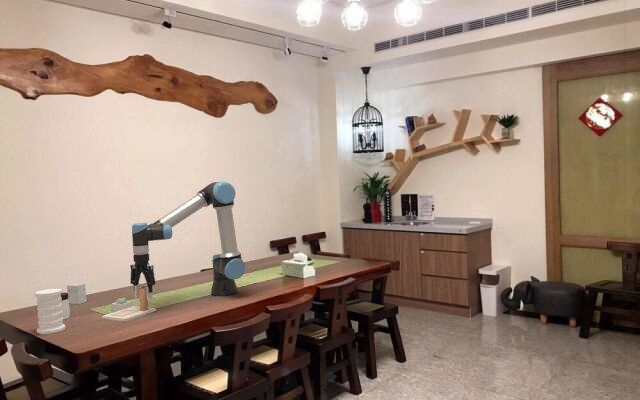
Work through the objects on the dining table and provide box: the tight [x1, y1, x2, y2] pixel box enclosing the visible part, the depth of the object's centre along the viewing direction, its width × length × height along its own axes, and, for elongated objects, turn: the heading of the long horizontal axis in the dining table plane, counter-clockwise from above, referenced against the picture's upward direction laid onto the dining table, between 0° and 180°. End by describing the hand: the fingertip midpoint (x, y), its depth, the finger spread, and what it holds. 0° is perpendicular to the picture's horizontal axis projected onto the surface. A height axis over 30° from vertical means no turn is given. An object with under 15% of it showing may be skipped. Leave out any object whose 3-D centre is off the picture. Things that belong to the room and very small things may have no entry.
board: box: [101, 305, 157, 322], centre depth 253 cm, size 16×20×1 cm
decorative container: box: [34, 288, 66, 335], centre depth 230 cm, size 12×12×18 cm
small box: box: [66, 282, 87, 305], centre depth 284 cm, size 8×6×10 cm
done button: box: [116, 297, 127, 304], centre depth 265 cm, size 4×4×4 cm
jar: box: [61, 292, 71, 320], centre depth 251 cm, size 9×8×12 cm
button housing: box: [110, 300, 133, 312], centre depth 265 cm, size 7×7×4 cm
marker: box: [139, 285, 149, 311], centre depth 256 cm, size 4×4×12 cm
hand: (143, 298), depth 256 cm, fingers open, 7 cm apart
